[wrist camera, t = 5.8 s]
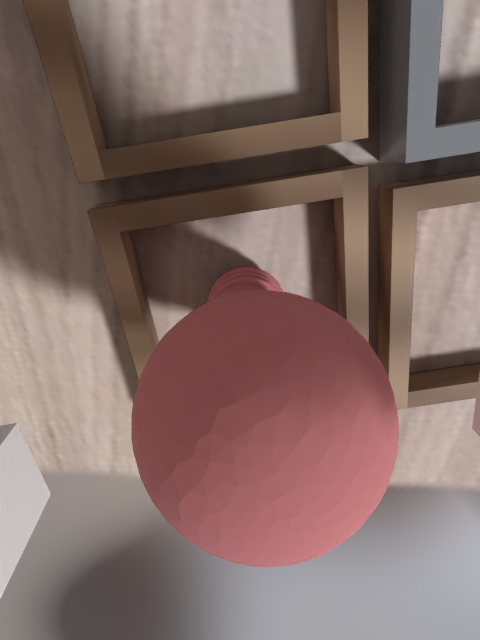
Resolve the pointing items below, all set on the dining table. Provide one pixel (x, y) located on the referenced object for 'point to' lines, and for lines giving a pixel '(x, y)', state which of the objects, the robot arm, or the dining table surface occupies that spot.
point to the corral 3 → (415, 87)
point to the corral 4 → (398, 285)
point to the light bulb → (264, 425)
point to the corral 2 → (227, 200)
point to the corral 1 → (101, 163)
